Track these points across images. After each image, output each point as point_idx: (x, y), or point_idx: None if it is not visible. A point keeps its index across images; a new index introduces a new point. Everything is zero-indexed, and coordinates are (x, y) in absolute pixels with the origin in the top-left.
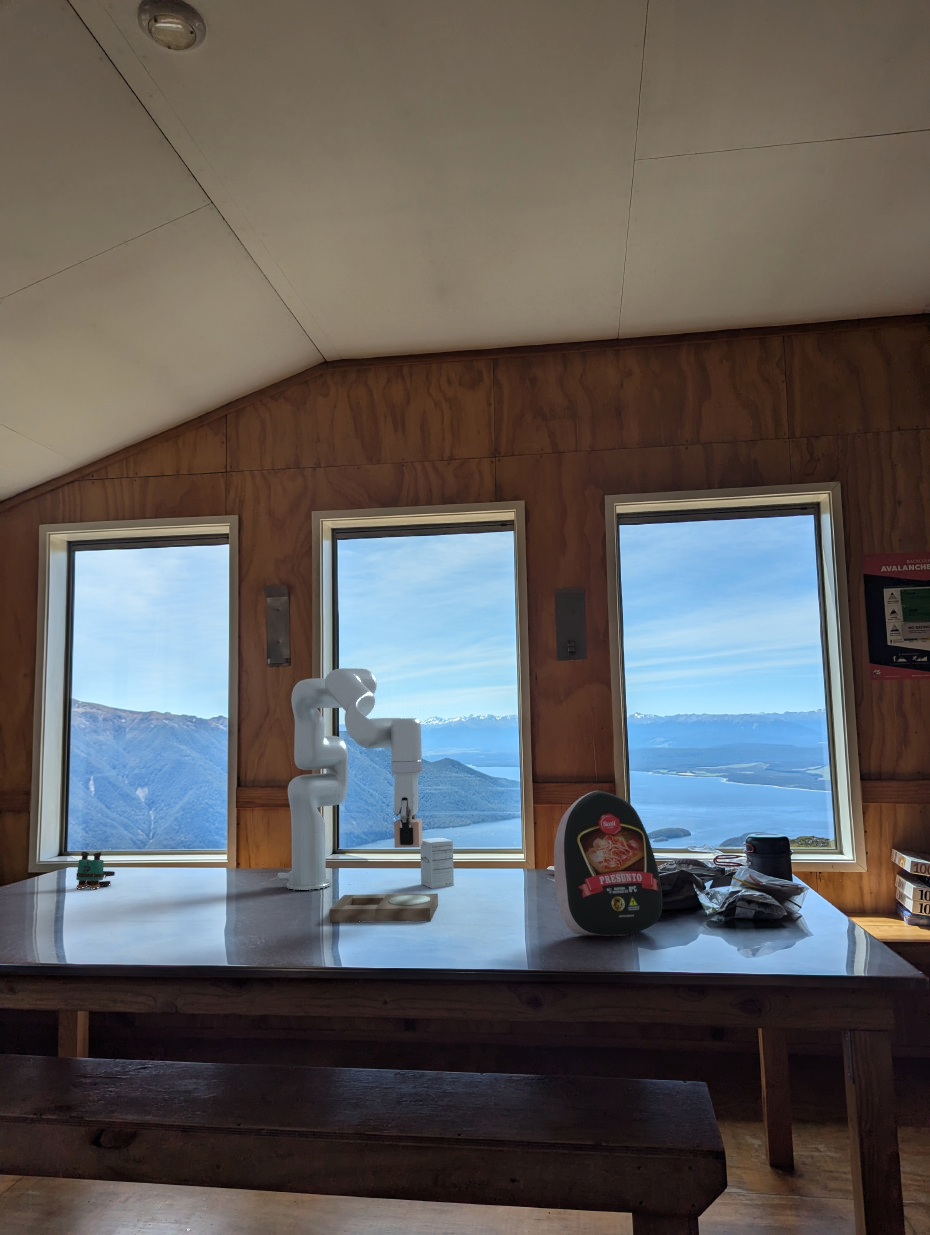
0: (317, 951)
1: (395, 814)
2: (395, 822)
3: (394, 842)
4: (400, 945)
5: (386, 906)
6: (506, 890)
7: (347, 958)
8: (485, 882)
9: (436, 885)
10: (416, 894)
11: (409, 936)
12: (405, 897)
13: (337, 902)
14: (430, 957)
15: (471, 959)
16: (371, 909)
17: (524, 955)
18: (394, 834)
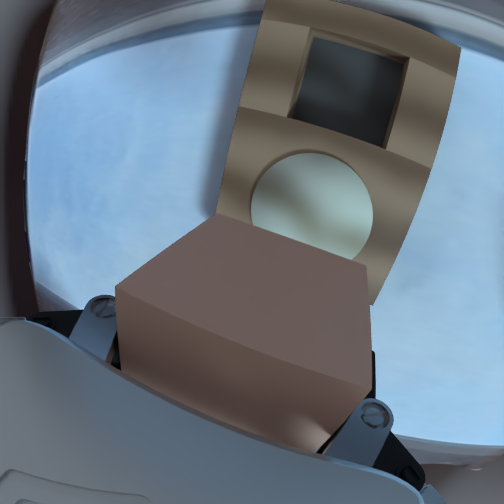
0: (86, 33)
1: (13, 321)
2: (115, 298)
3: (203, 222)
4: (85, 158)
5: (257, 138)
6: (421, 419)
7: (54, 87)
8: (497, 403)
9: None
10: (388, 251)
11: (124, 176)
12: (344, 209)
13: (357, 10)
14: (48, 196)
15: (45, 241)
16: (241, 95)
17: (60, 295)
18: (175, 242)
